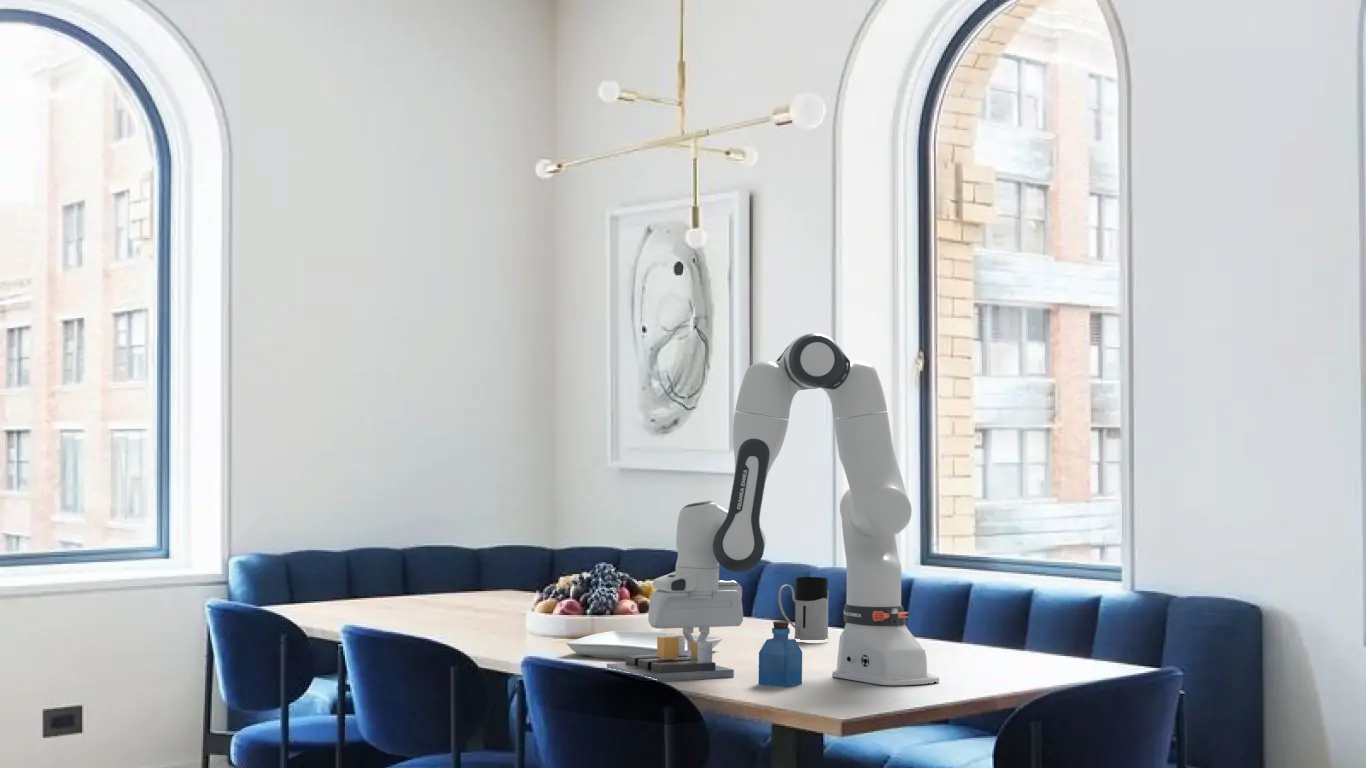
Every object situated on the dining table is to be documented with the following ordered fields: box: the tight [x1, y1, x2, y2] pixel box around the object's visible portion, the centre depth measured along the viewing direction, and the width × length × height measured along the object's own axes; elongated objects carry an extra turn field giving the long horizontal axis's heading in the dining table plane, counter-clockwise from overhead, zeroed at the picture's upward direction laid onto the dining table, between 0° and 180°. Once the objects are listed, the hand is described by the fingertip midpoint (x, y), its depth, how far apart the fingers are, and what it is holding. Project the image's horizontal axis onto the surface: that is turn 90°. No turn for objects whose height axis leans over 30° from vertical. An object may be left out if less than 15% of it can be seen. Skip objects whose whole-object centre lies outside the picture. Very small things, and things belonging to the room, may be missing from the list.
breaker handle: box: [657, 636, 679, 659], centre depth 336 cm, size 3×3×4 cm
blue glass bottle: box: [758, 620, 803, 688], centre depth 325 cm, size 6×6×12 cm
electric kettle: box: [778, 576, 829, 640], centre depth 397 cm, size 9×14×15 cm, turn 124°
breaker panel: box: [606, 633, 735, 682], centre depth 336 cm, size 17×20×7 cm
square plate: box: [566, 630, 723, 660], centre depth 369 cm, size 27×27×4 cm
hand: (695, 649), depth 339 cm, fingers closed
